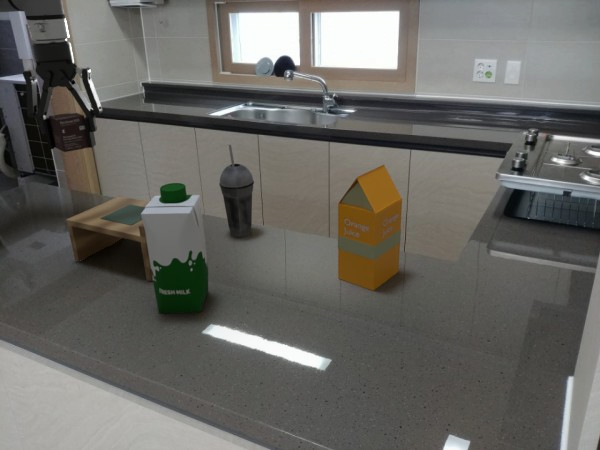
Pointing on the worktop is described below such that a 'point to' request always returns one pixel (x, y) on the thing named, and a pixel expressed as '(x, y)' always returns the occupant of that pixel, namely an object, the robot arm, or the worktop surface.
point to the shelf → (109, 228)
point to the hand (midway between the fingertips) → (72, 146)
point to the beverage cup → (237, 197)
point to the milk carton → (176, 249)
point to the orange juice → (369, 230)
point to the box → (69, 131)
